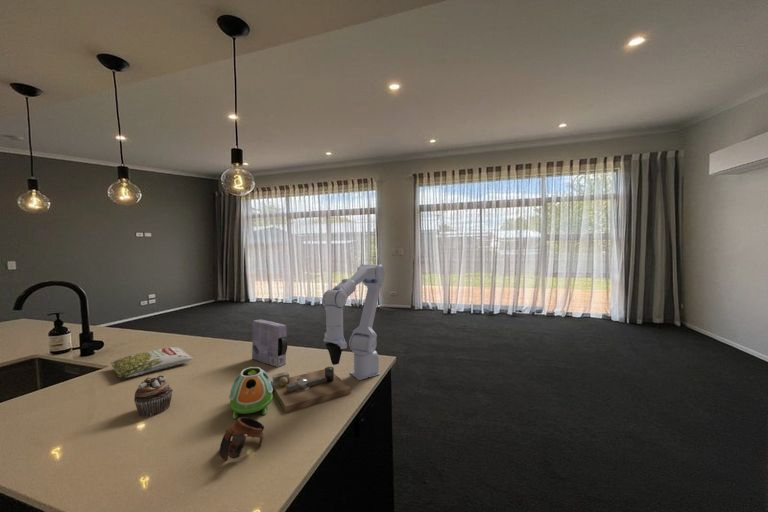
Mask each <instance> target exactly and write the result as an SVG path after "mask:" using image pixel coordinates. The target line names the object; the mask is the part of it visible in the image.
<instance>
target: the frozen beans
mask: <svg viewBox="0 0 768 512" xmlns="http://www.w3.org/2000/svg"><path fill="white" fill-rule="evenodd" d="M191 360H194V357H192V356H191V355H190V354H189V353H187V352H186V351H184V350H183V349H182V348H181V347H180V346H177V347H176V346H175V347H174V346H173V347H172V346H171V347H168V346H167V347H163V348H159V349H157V348H156V349H153V350H149V351H144V352H140V353H136V354H132V355H127V356H124V357H121V358H118V359H116V360H113V361H112V362H110V365H111V366H112V368H113V370H114V371H115V373H116V375H117V376H118V379H119V378H126V379H127V378H133V377H137V376H140V375H141V376H142V375H145V374H149V373H152V372H157V371H161V370H163V369H164V370H165V369H168V368H171V367H172V368H173V367H176V366H179V365H182V364H183V365H184V364H186V363H188V362H190V361H191Z"/></svg>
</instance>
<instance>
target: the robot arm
mask: <svg viewBox="0 0 768 512" xmlns="http://www.w3.org/2000/svg"><path fill="white" fill-rule="evenodd" d="M385 276H386V272H385V268H384V266H383V265H382V264H363V263H362V264H360V265H359V266H358V267H357V270H356V272H355V273H354V274H353V275H352V276H351V277H350V278H342V279H341V282H339V283H337V285H335V286H334V287H333V288H332V289H328V290H326V291H325V292H324V293H323V295H322V298H321V302H322V304H323V306H324V311H325V323H326V324H325V325H326V332H324V333H323V334H324V338H323V340H322V341H323V342H324V343H325V347H326V348H327V351H328V354H329V357H330V362H331V364H332V365H333V366H335V365H339V364H340V360H341V356H342V352H343V351H344V349H348V347H349V348H350V350H352V351H351V352H352V353H353V370H352V371H350V372H349V374H350V375H351V376H352V377H354V378H355V379H357V380H358V381H361V380H364V379H368V377H369V378H372V377H376V376H378V375H381V373H380V372H379V371H380V367H379V366H380V365H379V363H380V362H379V361H380V360H379V354H378V352H377V350H376V348H377V345H378V343H377V342H378V341H377V338H378V335H377V333H376V332H375V330H374V329H373V325H374V321H375V317H376V311H377V306H378V301H379V297H380V291H381V288H382V287H383V286H384V281H385ZM361 283H363V285H364V286H366V288H367V290H366V295H365V299H364V305H363V309H362V311H361V312H362V313H361V317H360V322H359V325H358V326H357V327H356V328H355V329H353V330H352V334H351V336H350V337H349V340H348V343H347V342H346V340H345V336H344V307H345V306H346V303H347V300H348V299H349V297H350V296H351V295H353V293H354V292H355V291H356V289H357V287H356V286H358V285H359V284H361ZM348 345H349V346H348Z"/></svg>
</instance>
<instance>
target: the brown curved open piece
mask: <svg viewBox="0 0 768 512" xmlns="http://www.w3.org/2000/svg"><path fill="white" fill-rule="evenodd" d="M264 429H265V426H264V424H262V423H261V422H259V421H258V420H256V419H253V418H251V417H247V416H238V417H237V418H236V421H235V422H234V423H232V424H231V425H230V426H229V427H228V428H227V429H226V431H225V433H224V434H223V436H222V439H221V442H220V446H219V447H220V448H219V451H218V455H219V457H220V458H221V459H222V460H224V461H228V459H229V458H231V459H236V458H239V457H240V455H241V453H242V450H243V448H244V447H245V444H246V443H247V442H246V441H247V438H259V444H258V447H262V444H263V440H264V434H263V432H264Z"/></svg>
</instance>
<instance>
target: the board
mask: <svg viewBox="0 0 768 512" xmlns="http://www.w3.org/2000/svg"><path fill="white" fill-rule="evenodd" d="M323 376H325V368H323V369H320V370H315V371H311V372H307V373H303V374H299V375H298V374H297V375H295V376H292V377H290V373H289V372H288V371H285V372H284V371H283V372H280V373H276V374H272V383H271V385H272V389H273V391H274V392H273V393H274V395H275V397H276V399H277V400H278V402H279V403H280V405H282V406H281V407H282V409H283V411H284V412H285V413H286V414H288V413H290V412H293V411H297V410H300V409H304V408H307V407H310V406H313V405H317V404H320V403H323V402H327V401H329V400H334V399H336V398H340V397H343V396H345V395H350V394H351V393H352V392H351V387H350V386H349V385H348V384H347V383H346V382H344V380H343V379H342V378H340V377H339V376H338V375H337V374H335V373H334V380H333V381H331V382H324V383H321V384H317V385H313V386H310V387H307V388H306V389H303V390H296V391H292V392H288V391H287V384H291V383H295V382H297V379H298V378H301V377H306V378H307V379H308V380H311V379H315V378H319V377H323Z"/></svg>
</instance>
